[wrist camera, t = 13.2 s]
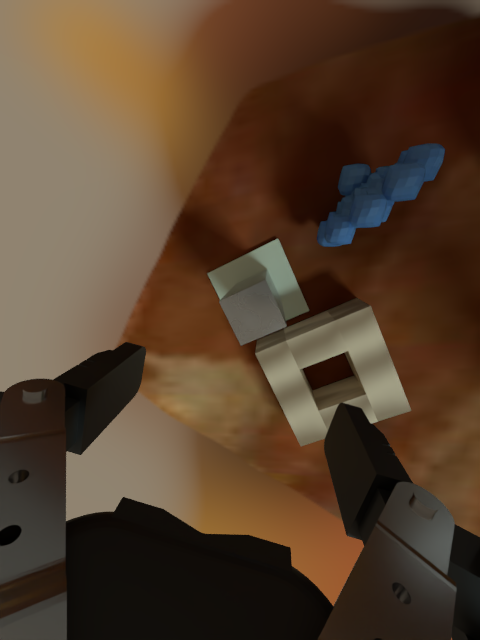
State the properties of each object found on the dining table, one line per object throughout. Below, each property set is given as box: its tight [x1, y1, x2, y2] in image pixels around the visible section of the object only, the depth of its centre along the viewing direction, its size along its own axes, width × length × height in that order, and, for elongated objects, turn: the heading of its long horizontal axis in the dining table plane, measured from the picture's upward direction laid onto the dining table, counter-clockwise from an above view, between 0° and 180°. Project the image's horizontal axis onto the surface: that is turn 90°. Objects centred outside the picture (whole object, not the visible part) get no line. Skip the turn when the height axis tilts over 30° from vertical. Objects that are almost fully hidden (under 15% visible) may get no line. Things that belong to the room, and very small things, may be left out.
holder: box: [255, 298, 411, 446], centre depth 35 cm, size 14×14×5 cm
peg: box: [219, 269, 287, 345], centre depth 30 cm, size 4×4×12 cm
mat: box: [207, 239, 309, 321], centre depth 36 cm, size 10×10×1 cm
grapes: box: [317, 144, 445, 247], centre depth 26 cm, size 12×7×12 cm, turn 132°
